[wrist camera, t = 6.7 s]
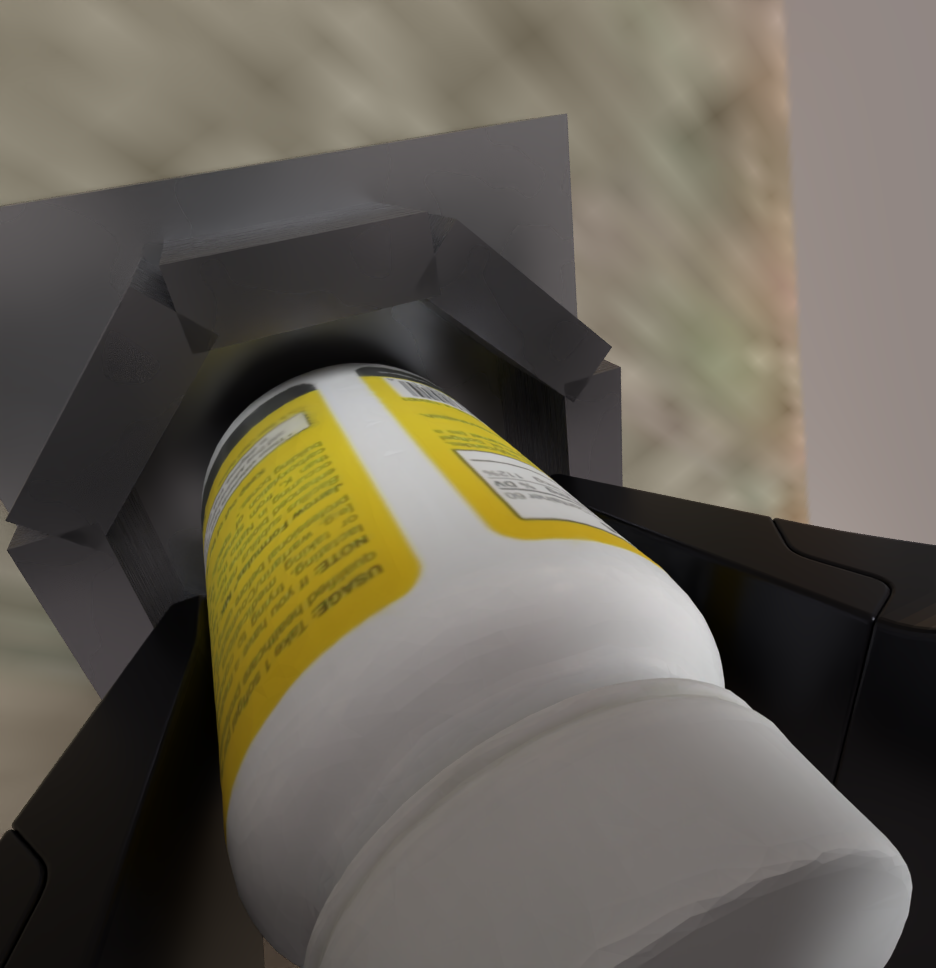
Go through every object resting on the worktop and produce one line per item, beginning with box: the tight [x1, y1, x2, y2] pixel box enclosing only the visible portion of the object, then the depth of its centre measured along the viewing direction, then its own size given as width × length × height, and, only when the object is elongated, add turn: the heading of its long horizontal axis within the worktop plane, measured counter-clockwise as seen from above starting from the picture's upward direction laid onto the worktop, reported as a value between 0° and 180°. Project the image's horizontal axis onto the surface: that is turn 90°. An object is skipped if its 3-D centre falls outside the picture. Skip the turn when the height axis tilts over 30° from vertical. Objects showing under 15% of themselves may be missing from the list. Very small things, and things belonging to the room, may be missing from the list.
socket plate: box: [0, 114, 622, 699], centre depth 11 cm, size 12×10×4 cm
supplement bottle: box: [201, 363, 912, 968], centre depth 7 cm, size 5×5×8 cm
